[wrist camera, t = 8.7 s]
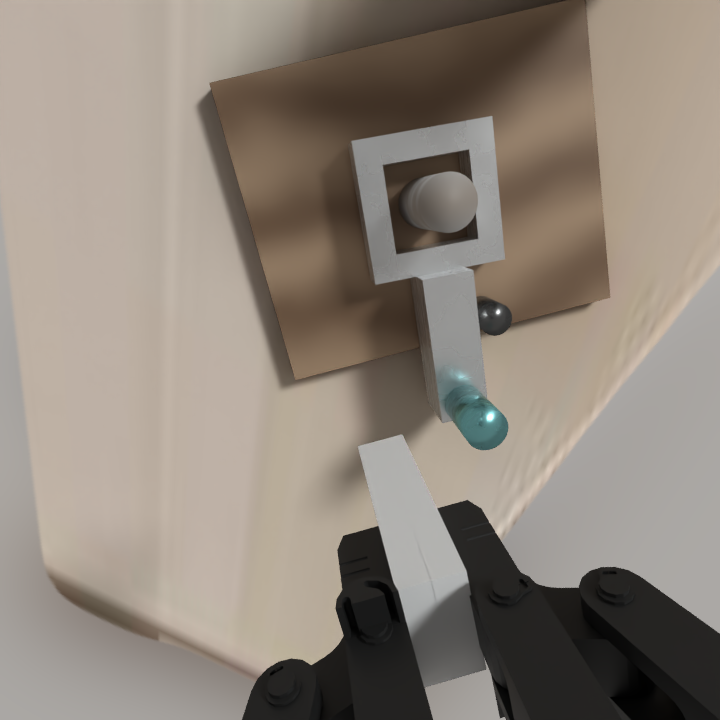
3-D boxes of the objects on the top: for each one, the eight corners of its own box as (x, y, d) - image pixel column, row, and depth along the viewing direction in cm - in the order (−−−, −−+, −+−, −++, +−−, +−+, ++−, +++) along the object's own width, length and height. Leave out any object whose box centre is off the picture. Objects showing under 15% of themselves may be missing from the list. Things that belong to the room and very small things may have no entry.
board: (212, 87, 30) (189, 53, 23) (574, 3, 31) (651, -52, 24) (295, 374, 35) (295, 413, 29) (600, 294, 36) (668, 314, 30)
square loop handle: (347, 144, 30) (364, 126, 23) (479, 121, 31) (536, 95, 24) (393, 412, 35) (418, 465, 28) (505, 388, 36) (558, 434, 29)
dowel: (458, 297, 35) (478, 308, 31) (486, 289, 35) (509, 299, 32) (463, 324, 36) (483, 339, 32) (490, 317, 36) (514, 331, 32)
